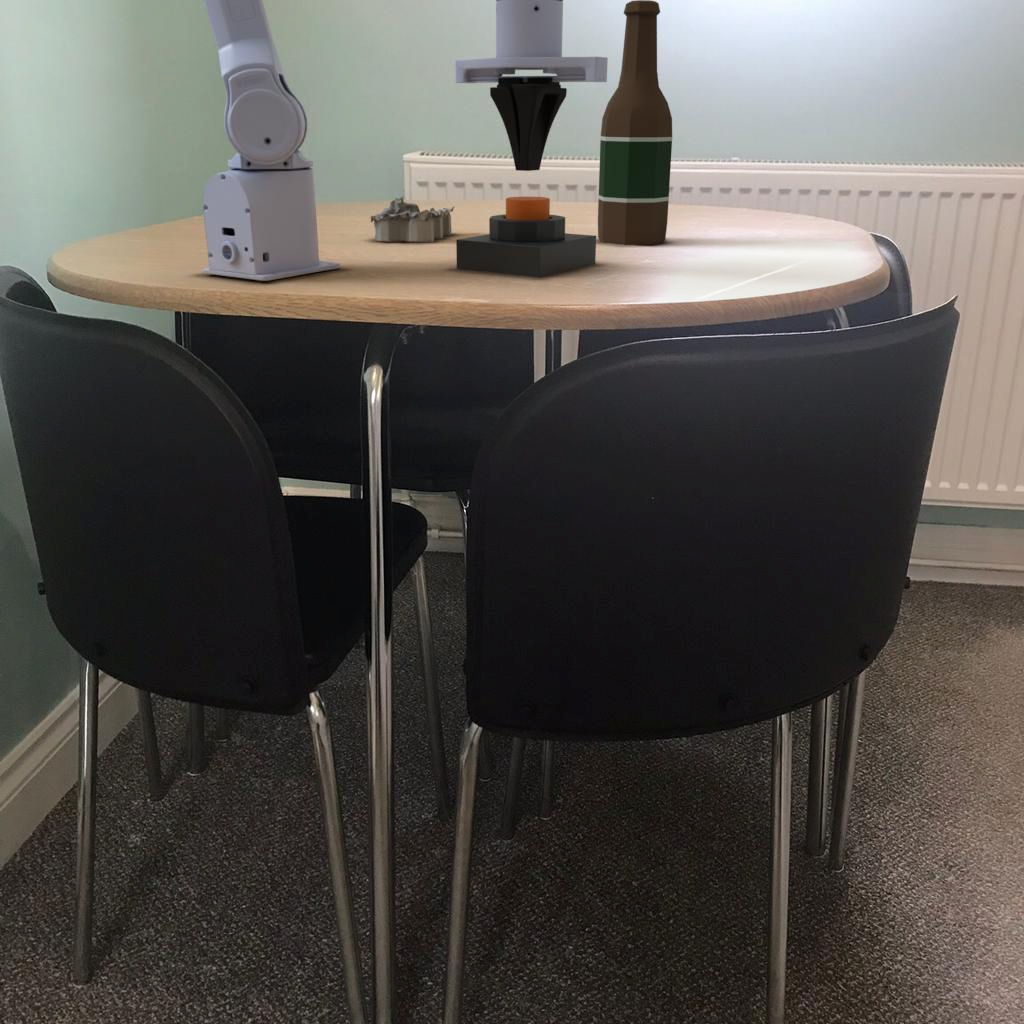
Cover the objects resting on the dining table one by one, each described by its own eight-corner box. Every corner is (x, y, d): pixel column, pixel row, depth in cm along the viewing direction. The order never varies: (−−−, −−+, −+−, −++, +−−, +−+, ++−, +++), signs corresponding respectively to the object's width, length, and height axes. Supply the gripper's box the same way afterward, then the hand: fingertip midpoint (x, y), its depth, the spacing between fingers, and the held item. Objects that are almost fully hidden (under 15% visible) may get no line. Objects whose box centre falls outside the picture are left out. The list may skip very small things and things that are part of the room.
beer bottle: (589, 244, 110) (597, -2, 102) (604, 236, 117) (612, 5, 108) (660, 247, 108) (674, -4, 99) (671, 238, 115) (685, 4, 106)
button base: (539, 278, 88) (540, 225, 87) (456, 269, 93) (455, 218, 91) (595, 264, 96) (597, 215, 94) (516, 257, 101) (516, 210, 99)
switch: (534, 224, 90) (534, 201, 90) (497, 222, 92) (497, 198, 92) (557, 221, 94) (557, 197, 93) (521, 218, 96) (521, 195, 95)
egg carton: (401, 231, 121) (400, 196, 120) (460, 234, 119) (460, 197, 118) (364, 241, 112) (362, 203, 110) (428, 244, 110) (427, 205, 108)
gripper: (627, 2, 86) (619, 171, 91) (486, 9, 93) (487, 165, 98) (585, -6, 80) (580, 174, 85) (439, 3, 88) (443, 168, 93)
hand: (527, 170), depth 91 cm, fingers closed
